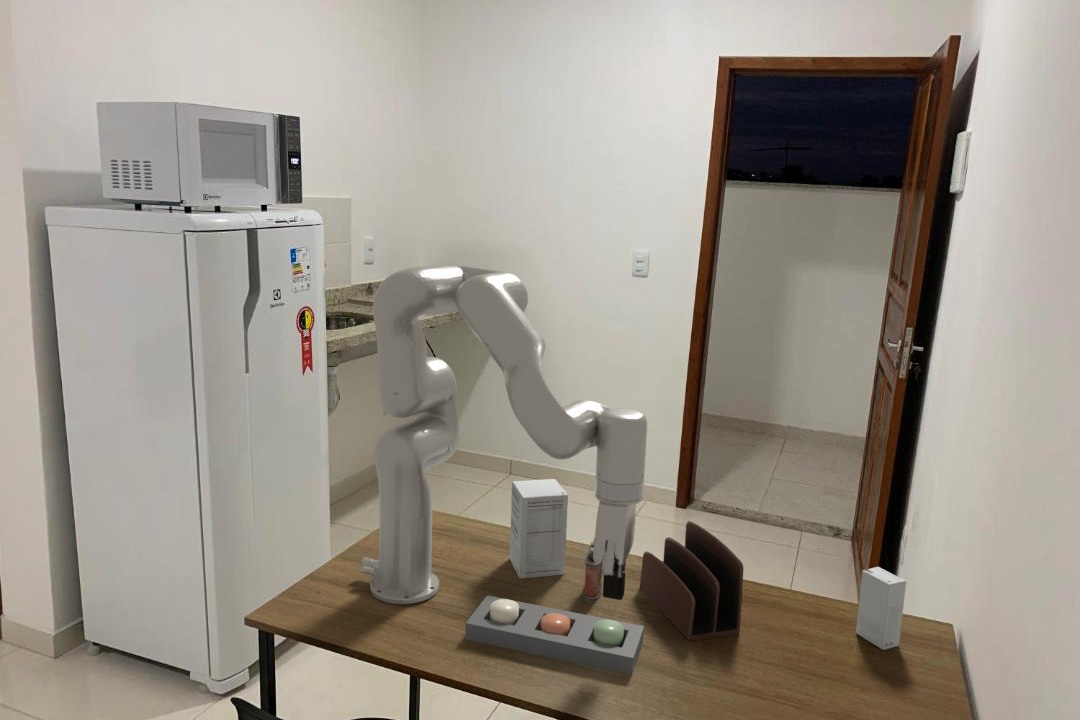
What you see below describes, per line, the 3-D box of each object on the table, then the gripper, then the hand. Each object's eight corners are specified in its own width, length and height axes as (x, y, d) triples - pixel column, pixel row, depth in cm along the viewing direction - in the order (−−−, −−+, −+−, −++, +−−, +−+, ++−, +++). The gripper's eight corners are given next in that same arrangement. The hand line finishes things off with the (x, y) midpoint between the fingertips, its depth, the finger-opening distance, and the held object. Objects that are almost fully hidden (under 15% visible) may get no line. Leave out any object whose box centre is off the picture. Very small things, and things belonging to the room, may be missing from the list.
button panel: (465, 639, 131) (465, 622, 131) (486, 610, 141) (487, 595, 140) (631, 675, 124) (633, 658, 123) (642, 642, 133) (644, 626, 132)
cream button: (485, 626, 133) (486, 610, 132) (495, 612, 137) (496, 597, 137) (512, 632, 132) (513, 615, 131) (521, 618, 136) (522, 602, 135)
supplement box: (552, 554, 164) (556, 477, 161) (565, 575, 156) (570, 494, 152) (507, 558, 162) (510, 480, 159) (518, 579, 153) (522, 496, 150)
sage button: (590, 648, 128) (591, 631, 127) (596, 633, 132) (597, 617, 132) (619, 654, 127) (620, 637, 126) (625, 639, 131) (626, 622, 130)
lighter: (598, 603, 145) (601, 552, 143) (580, 600, 146) (583, 550, 144) (604, 583, 153) (607, 535, 151) (586, 581, 154) (589, 532, 152)
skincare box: (899, 646, 136) (909, 580, 133) (881, 651, 134) (890, 585, 131) (871, 628, 141) (880, 565, 139) (852, 633, 139) (861, 569, 137)
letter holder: (685, 582, 156) (691, 514, 153) (740, 635, 137) (748, 559, 134) (638, 587, 152) (644, 519, 150) (688, 643, 134) (695, 565, 131)
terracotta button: (536, 641, 131) (537, 624, 130) (545, 627, 135) (545, 610, 134) (564, 647, 129) (565, 630, 129) (572, 632, 134) (573, 616, 133)
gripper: (606, 470, 132) (600, 572, 136) (584, 501, 118) (579, 614, 122) (650, 476, 130) (644, 580, 134) (634, 508, 116) (627, 623, 120)
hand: (613, 596), depth 128 cm, fingers closed
